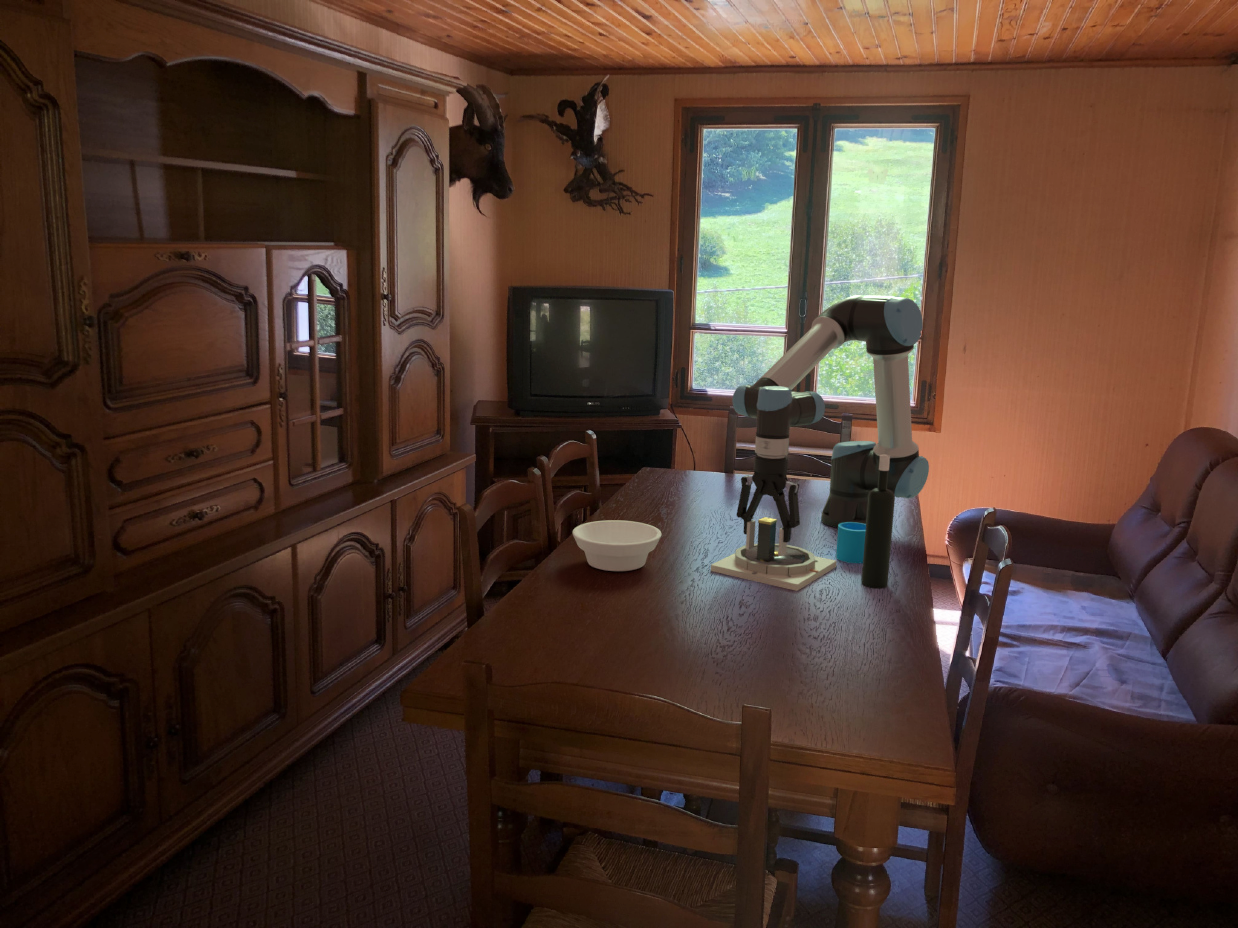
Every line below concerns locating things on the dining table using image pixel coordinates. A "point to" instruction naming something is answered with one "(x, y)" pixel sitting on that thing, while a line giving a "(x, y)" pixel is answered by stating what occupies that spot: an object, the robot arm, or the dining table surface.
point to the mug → (851, 542)
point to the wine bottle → (878, 530)
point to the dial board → (774, 579)
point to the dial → (771, 547)
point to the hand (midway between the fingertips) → (765, 551)
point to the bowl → (616, 543)
